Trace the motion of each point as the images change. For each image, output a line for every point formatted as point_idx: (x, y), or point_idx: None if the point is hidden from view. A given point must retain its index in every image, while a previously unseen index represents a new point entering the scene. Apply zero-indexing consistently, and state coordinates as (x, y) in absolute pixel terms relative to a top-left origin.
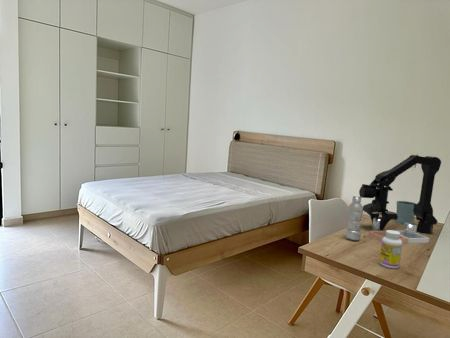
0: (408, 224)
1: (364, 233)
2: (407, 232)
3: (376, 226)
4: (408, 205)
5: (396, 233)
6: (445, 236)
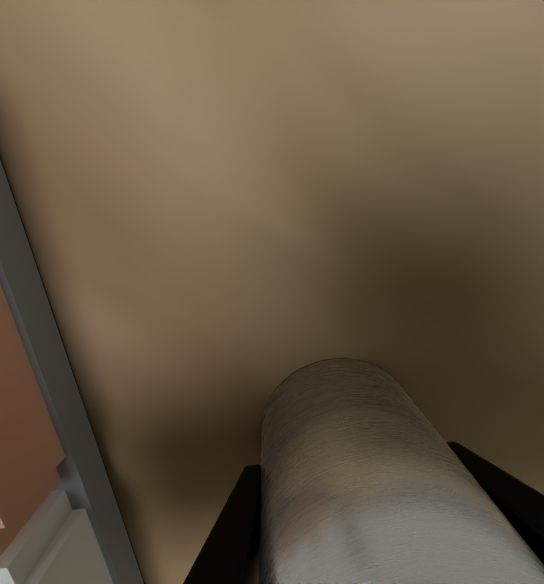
0: None
1: (211, 126)
2: None
3: (296, 460)
4: None
5: None
6: None
